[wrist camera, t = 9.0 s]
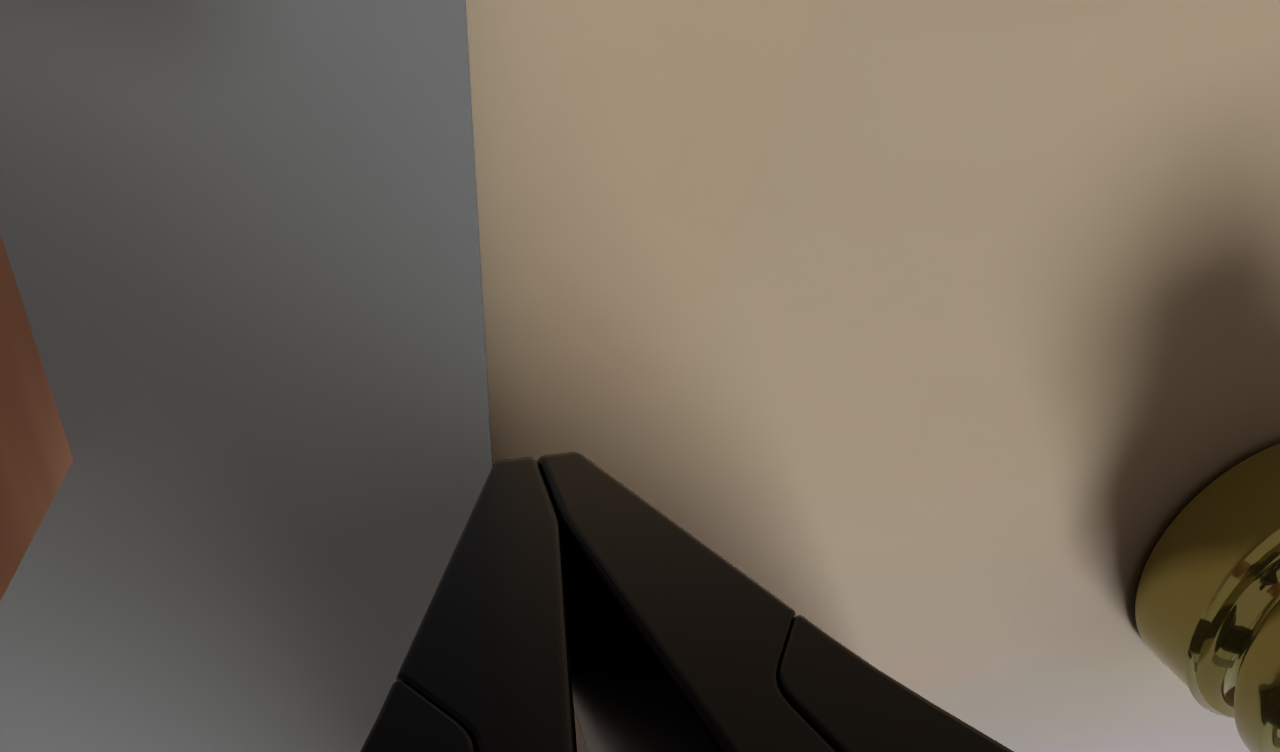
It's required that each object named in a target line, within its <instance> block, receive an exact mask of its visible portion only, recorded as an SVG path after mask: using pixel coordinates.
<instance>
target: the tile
mask: <svg viewBox="0 0 1280 752" xmlns="http://www.w3.org/2000/svg"><path fill="white" fill-rule="evenodd" d="M72 462H73V457H72V454H71V451H70V448H69V445H68V442H67V439H66V435H65V432H64V429H63V426H62V423H61V420H60V417H59V414H58V411H57V408H56V404H55V401H54V398H53V395H52V392H51V389H50V386H49V383H48V380H47V377H46V373H45V370H44V367H43V364H42V361H41V358H40V355H39V352H38V349H37V346H36V342H35V339H34V336H33V333H32V330H31V327H30V324H29V321H28V318H27V315H26V311H25V308H24V305H23V302H22V299H21V296H20V293H19V290H18V287H17V283H16V280H15V277H14V274H13V271H12V268H11V265H10V262H9V259H8V256H7V252H6V249H5V246H4V243H3V240H2V237H1V234H0V601H1V599H2V598H3V596H4V594H5V592H6V590H7V588H8V586H9V584H10V582H11V580H12V578H13V576H14V574H15V572H16V570H17V568H18V566H19V565H20V563H21V561H22V559H23V557H24V555H25V553H26V551H27V549H28V547H29V545H30V543H31V541H32V539H33V537H34V535H35V533H36V532H37V530H38V528H39V526H40V524H41V522H42V520H43V518H44V516H45V514H46V512H47V510H48V508H49V506H50V504H51V502H52V500H53V499H54V497H55V495H56V493H57V491H58V489H59V487H60V485H61V483H62V481H63V479H64V477H65V475H66V473H67V471H68V469H69V467H70V466H71V464H72Z"/></svg>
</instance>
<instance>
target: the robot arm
mask: <svg viewBox="0 0 1280 752" xmlns="http://www.w3.org/2000/svg"><path fill="white" fill-rule="evenodd" d="M795 615H796V614H795V611H794V610H793V609H792V608H790V607H789V606H787V605H786V604H785V603H783V602H782V601H781V600H779V599H778V598H777V597H775V596H774V595H772V594H771V593H770V592H768V591H767V590H766V589H764V588H763V587H761V586H760V585H759V584H757V583H756V582H755V581H753V580H752V579H751V578H749V577H748V576H746V575H745V574H744V573H742V572H741V571H740V570H738V569H737V568H736V567H734V566H733V565H731V564H730V563H729V562H727V561H726V560H725V559H723V558H722V557H721V556H719V555H718V554H716V553H715V552H714V551H712V550H711V549H710V548H708V547H707V546H706V545H704V544H703V543H701V542H700V541H699V540H697V539H696V538H695V537H693V536H692V535H691V534H689V533H688V532H686V531H685V530H684V529H682V528H681V527H680V526H678V525H677V524H676V523H674V522H673V521H671V520H670V519H669V518H667V517H666V516H665V515H663V514H662V513H661V512H659V511H658V510H656V509H655V508H654V507H652V506H651V505H650V504H648V503H647V502H646V501H644V500H643V499H641V498H640V497H639V496H637V495H636V494H635V493H633V492H632V491H631V490H629V489H628V488H626V487H625V486H624V485H622V484H621V483H620V482H618V481H617V480H616V479H614V478H613V477H611V476H610V475H609V474H607V473H606V472H605V471H603V470H602V469H601V468H599V467H598V466H596V465H595V464H594V463H592V462H591V461H590V460H588V459H587V458H586V457H584V456H583V455H581V454H579V453H577V452H569V453H561V454H552V455H545V456H542V457H540V458H539V460H538V462H537V461H536V459H534V458H532V457H526V458H517V459H508V460H500V461H497V462H496V463H495V464H494V465H493V467H492V469H491V471H490V473H489V475H488V478H487V480H486V482H485V484H484V486H483V488H482V491H481V493H480V495H479V497H478V499H477V502H476V504H475V506H474V508H473V510H472V512H471V515H470V517H469V519H468V521H467V523H466V526H465V528H464V530H463V532H462V534H461V537H460V539H459V541H458V543H457V545H456V547H455V550H454V552H453V554H452V556H451V558H450V561H449V563H448V565H447V567H446V569H445V571H444V574H443V576H442V578H441V580H440V582H439V585H438V587H437V589H436V591H435V593H434V595H433V598H432V600H431V602H430V604H429V606H428V609H427V611H426V613H425V615H424V617H423V620H422V622H421V624H420V626H419V628H418V630H417V633H416V635H415V637H414V639H413V641H412V644H411V646H410V648H409V650H408V652H407V654H406V657H405V659H404V661H403V663H402V665H401V668H400V670H399V672H398V674H397V677H396V682H394V683H393V684H392V686H391V688H390V691H389V693H388V695H387V697H386V699H385V701H384V704H383V706H382V708H381V710H380V712H379V715H378V717H377V719H376V721H375V723H374V725H373V727H372V729H371V731H370V732H369V734H368V736H367V738H366V740H365V742H364V744H363V746H362V748H361V750H360V752H577V745H576V732H575V718H574V709H575V713H576V716H577V719H578V722H579V725H580V728H581V732H582V735H583V738H584V741H585V744H586V747H587V750H588V752H1014V751H1012V750H1010V749H1009V748H1007V747H1005V746H1003V745H1002V744H1000V743H998V742H997V741H995V740H993V739H992V738H990V737H988V736H987V735H985V734H983V733H982V732H980V731H978V730H977V729H975V728H973V727H972V726H970V725H968V724H966V723H965V722H963V721H961V720H960V719H958V718H956V717H955V716H953V715H951V714H950V713H948V712H946V711H945V710H943V709H941V708H940V707H938V706H936V705H935V704H933V703H931V702H929V701H928V700H926V699H925V698H923V697H921V696H920V695H918V694H917V693H915V692H913V691H912V690H910V689H909V688H907V687H905V686H904V685H902V684H901V683H899V682H897V681H896V680H894V679H893V678H891V677H889V676H888V675H886V674H885V673H883V672H881V671H880V670H878V669H877V668H875V667H874V666H872V665H871V664H869V663H868V662H866V661H865V660H863V659H862V658H861V657H859V656H858V655H856V654H855V653H853V652H852V651H850V650H849V649H848V648H846V647H845V646H843V645H842V644H840V643H839V642H837V641H836V640H835V639H833V638H832V637H830V636H829V635H827V634H826V633H825V632H823V631H822V630H821V629H819V628H818V627H817V626H815V625H814V624H812V623H811V622H810V621H808V620H807V619H806V618H804V617H803V616H801V615H798V616H796V617H795Z"/></svg>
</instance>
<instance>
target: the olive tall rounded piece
mask: <svg viewBox="0 0 1280 752" xmlns="http://www.w3.org/2000/svg"><path fill="white" fill-rule="evenodd" d="M1135 617H1136V624H1137V628H1138V631H1139V634H1140V636H1141V638H1142V640H1143V642H1144V644H1145V645H1146V646H1147V647H1148V648H1149V649H1150V650H1151V651H1152V652H1153V653H1154V654H1155V655H1156V656H1157V657H1158V658H1159V659H1160V660H1161V661H1162V662H1163V663H1164V664H1165V665H1166V666H1167V667H1168V668H1169V669H1170V670H1171V671H1172V672H1173V673H1174V674H1175V675H1176V676H1177V677H1178V678H1179V679H1180V680H1181V681H1182V682H1183V683H1184V684H1185V685H1186V686H1187V687H1188V688H1189V689H1190V691H1191V693H1192V695H1193V697H1194V698H1195V699H1196V701H1197V702H1198V703H1199V704H1200V705H1201V706H1203V707H1204V708H1205V709H1207V710H1209V711H1210V712H1213V713H1215V714H1218V715H1221V716H1225V717H1230V718H1235V723H1236V726H1237V730H1238V733H1239V735H1240V737H1241V739H1242V741H1243V742H1244V744H1245V746H1246V747H1247V748H1248V749H1249V751H1250V752H1280V444H1277V445H1274V446H1272V447H1270V448H1267V449H1265V450H1263V451H1261V452H1259V453H1257V454H1255V455H1253V456H1251V457H1249V458H1247V459H1246V460H1244V461H1242V462H1241V463H1239V464H1237V465H1236V466H1234V467H1232V468H1231V469H1230V470H1228V471H1227V472H1225V473H1224V474H1222V475H1221V476H1220V477H1218V478H1217V479H1216V480H1214V481H1213V482H1212V483H1211V484H1209V485H1208V486H1207V487H1206V488H1205V489H1203V490H1202V491H1201V492H1200V493H1199V494H1198V495H1197V496H1196V497H1195V498H1194V499H1192V500H1191V501H1190V502H1189V504H1188V505H1187V506H1186V507H1185V508H1184V509H1183V510H1182V511H1181V512H1180V513H1179V514H1178V515H1177V517H1176V518H1175V519H1174V520H1173V521H1172V523H1171V524H1170V525H1169V527H1168V528H1167V529H1166V531H1165V532H1164V533H1163V535H1162V536H1161V538H1160V539H1159V541H1158V542H1157V544H1156V546H1155V547H1154V549H1153V551H1152V553H1151V555H1150V557H1149V559H1148V560H1147V563H1146V565H1145V567H1144V570H1143V572H1142V575H1141V578H1140V581H1139V585H1138V589H1137V594H1136V601H1135Z"/></svg>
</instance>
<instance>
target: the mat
mask: <svg viewBox="0 0 1280 752" xmlns="http://www.w3.org/2000/svg"><path fill="white" fill-rule="evenodd" d="M0 234H1V237H2V240H3V243H4V246H5V249H6V252H7V256H8V259H9V262H10V265H11V268H12V271H13V274H14V277H15V280H16V283H17V287H18V290H19V293H20V296H21V299H22V302H23V305H24V308H25V311H26V315H27V318H28V321H29V324H30V327H31V330H32V333H33V336H34V339H35V342H36V346H37V349H38V352H39V355H40V358H41V361H42V364H43V367H44V370H45V373H46V377H47V380H48V383H49V386H50V389H51V392H52V395H53V398H54V401H55V404H56V408H57V411H58V414H59V417H60V420H61V423H62V426H63V429H64V432H65V435H66V439H67V442H68V445H69V448H70V451H71V454H72V457H73V462H72V464H71V466H70V467H69V469H68V471H67V473H66V475H65V477H64V479H63V481H62V483H61V485H60V487H59V489H58V491H57V493H56V495H55V497H54V499H53V500H52V502H51V504H50V506H49V508H48V510H47V512H46V514H45V516H44V518H43V520H42V522H41V524H40V526H39V528H38V530H37V532H36V533H35V535H34V537H33V539H32V541H31V543H30V545H29V547H28V549H27V551H26V553H25V555H24V557H23V559H22V561H21V563H20V565H19V566H18V568H17V570H16V572H15V574H14V576H13V578H12V580H11V582H10V584H9V586H8V588H7V590H6V592H5V594H4V596H3V598H2V599H1V601H0V752H360V750H361V748H362V746H363V744H364V742H365V740H366V738H367V736H368V734H369V732H370V731H371V729H372V727H373V725H374V723H375V721H376V719H377V717H378V715H379V712H380V710H381V708H382V706H383V704H384V701H385V699H386V697H387V695H388V693H389V691H390V688H391V686H392V684H393V683H394V682H396V677H397V674H398V672H399V670H400V668H401V665H402V663H403V661H404V659H405V657H406V654H407V652H408V650H409V648H410V646H411V644H412V641H413V639H414V637H415V635H416V633H417V630H418V628H419V626H420V624H421V622H422V620H423V617H424V615H425V613H426V611H427V609H428V606H429V604H430V602H431V600H432V598H433V595H434V593H435V591H436V589H437V587H438V585H439V582H440V580H441V578H442V576H443V574H444V571H445V569H446V567H447V565H448V563H449V561H450V558H451V556H452V554H453V552H454V550H455V547H456V545H457V543H458V541H459V539H460V537H461V534H462V532H463V530H464V528H465V526H466V523H467V521H468V519H469V517H470V515H471V512H472V510H473V508H474V506H475V504H476V502H477V499H478V497H479V495H480V493H481V491H482V488H483V486H484V484H485V482H486V480H487V478H488V475H489V473H490V471H491V469H492V455H491V437H490V420H489V403H488V385H487V368H486V350H485V333H484V315H483V298H482V281H481V263H480V246H479V228H478V211H477V194H476V176H475V159H474V141H473V124H472V106H471V89H470V72H469V54H468V37H467V19H466V2H465V0H0Z"/></svg>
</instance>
